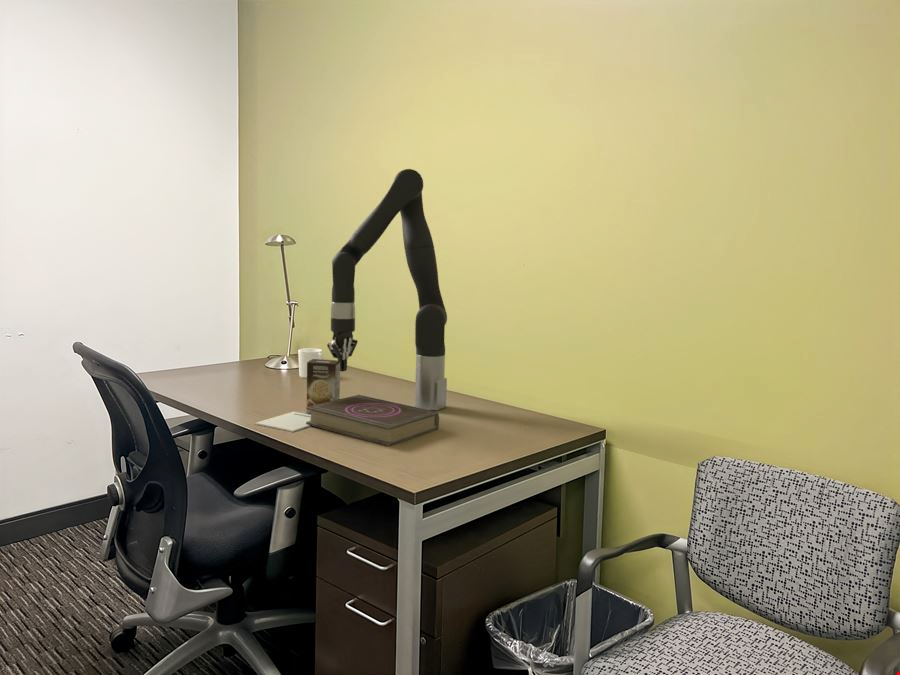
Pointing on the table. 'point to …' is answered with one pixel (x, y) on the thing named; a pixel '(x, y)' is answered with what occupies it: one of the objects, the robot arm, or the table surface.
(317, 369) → the coffee box
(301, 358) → the mug
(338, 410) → the book
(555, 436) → the table surface
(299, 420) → the mat
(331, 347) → the robot arm
